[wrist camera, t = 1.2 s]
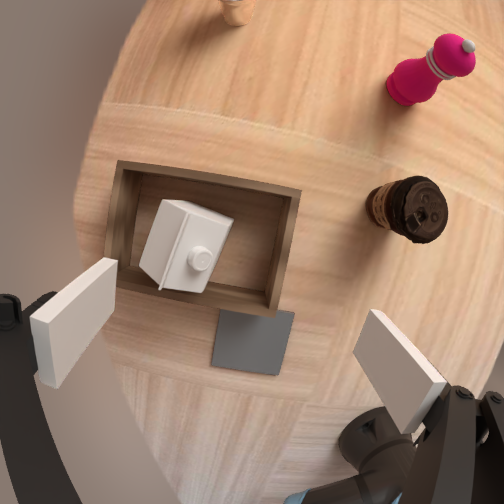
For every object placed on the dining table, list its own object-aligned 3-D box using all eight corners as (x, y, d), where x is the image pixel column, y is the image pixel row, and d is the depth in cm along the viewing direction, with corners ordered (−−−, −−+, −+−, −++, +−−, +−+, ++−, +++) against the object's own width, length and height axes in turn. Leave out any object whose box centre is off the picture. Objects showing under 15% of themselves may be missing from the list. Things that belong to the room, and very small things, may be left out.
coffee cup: (355, 232, 45) (394, 243, 32) (358, 177, 43) (397, 169, 31) (404, 235, 45) (451, 247, 32) (406, 183, 44) (455, 180, 31)
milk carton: (171, 245, 44) (124, 274, 26) (189, 200, 43) (149, 198, 25) (216, 264, 45) (196, 306, 26) (234, 218, 44) (227, 229, 25)
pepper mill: (385, 64, 40) (447, 9, 21) (420, 80, 41) (490, 38, 21) (381, 99, 41) (450, 51, 22) (418, 115, 42) (495, 81, 22)
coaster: (278, 372, 48) (278, 375, 47) (211, 362, 47) (211, 365, 47) (293, 312, 46) (294, 314, 46) (222, 300, 46) (221, 301, 45)
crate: (270, 299, 46) (275, 318, 38) (123, 270, 45) (101, 283, 37) (291, 192, 44) (301, 190, 36) (138, 166, 42) (117, 160, 34)
